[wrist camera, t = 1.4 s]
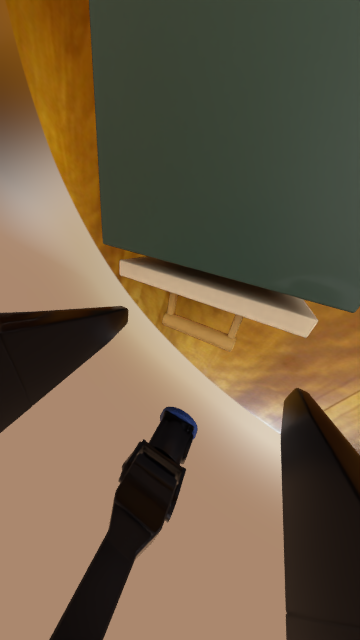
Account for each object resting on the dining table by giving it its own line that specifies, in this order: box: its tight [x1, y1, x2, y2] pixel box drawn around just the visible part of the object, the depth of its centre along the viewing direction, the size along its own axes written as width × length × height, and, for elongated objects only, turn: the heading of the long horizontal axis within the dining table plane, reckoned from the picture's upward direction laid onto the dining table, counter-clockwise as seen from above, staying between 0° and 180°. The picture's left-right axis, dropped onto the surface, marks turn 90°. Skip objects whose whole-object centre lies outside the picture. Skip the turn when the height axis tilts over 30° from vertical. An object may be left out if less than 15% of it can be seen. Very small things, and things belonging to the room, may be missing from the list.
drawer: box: [119, 256, 318, 352], centre depth 12 cm, size 19×13×8 cm
